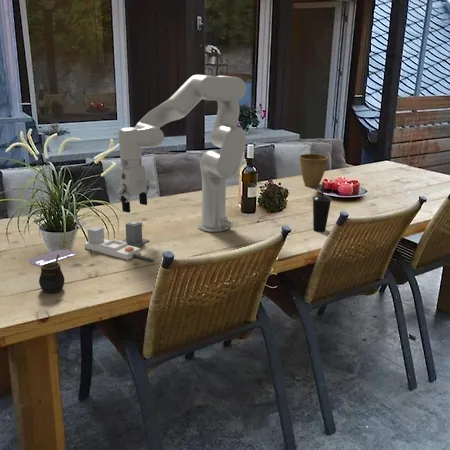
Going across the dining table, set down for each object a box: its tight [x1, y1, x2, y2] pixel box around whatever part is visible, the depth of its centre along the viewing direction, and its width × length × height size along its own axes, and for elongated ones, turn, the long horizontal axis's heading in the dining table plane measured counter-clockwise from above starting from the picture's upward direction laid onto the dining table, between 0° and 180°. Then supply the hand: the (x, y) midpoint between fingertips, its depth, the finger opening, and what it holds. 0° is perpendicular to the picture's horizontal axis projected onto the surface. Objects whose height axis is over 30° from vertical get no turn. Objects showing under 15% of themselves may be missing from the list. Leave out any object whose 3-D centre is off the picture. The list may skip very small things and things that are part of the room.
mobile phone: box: [27, 248, 77, 267], centre depth 179 cm, size 8×1×15 cm
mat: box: [122, 237, 150, 248], centre depth 194 cm, size 8×8×1 cm
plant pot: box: [299, 153, 329, 188], centre depth 276 cm, size 15×15×16 cm
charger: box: [125, 220, 143, 244], centre depth 193 cm, size 4×4×7 cm
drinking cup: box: [312, 182, 332, 233], centre depth 208 cm, size 8×8×20 cm
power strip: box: [84, 225, 155, 263], centre depth 182 cm, size 28×7×7 cm, turn 60°
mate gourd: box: [38, 255, 65, 294], centre depth 154 cm, size 7×8×10 cm
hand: (135, 208), depth 190 cm, fingers open, 9 cm apart
